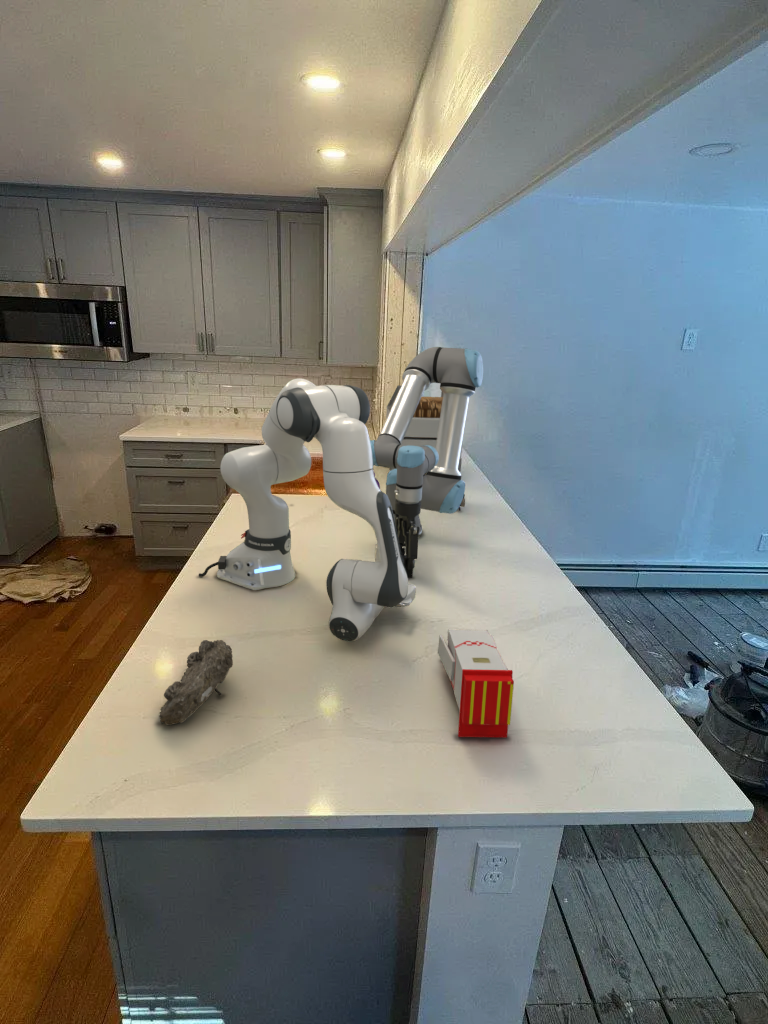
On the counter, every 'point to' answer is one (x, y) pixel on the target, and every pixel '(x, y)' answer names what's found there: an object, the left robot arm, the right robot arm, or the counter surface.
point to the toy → (478, 682)
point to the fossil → (197, 681)
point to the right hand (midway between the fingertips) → (403, 572)
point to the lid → (403, 560)
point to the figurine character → (462, 503)
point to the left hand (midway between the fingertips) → (385, 576)
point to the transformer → (423, 422)
